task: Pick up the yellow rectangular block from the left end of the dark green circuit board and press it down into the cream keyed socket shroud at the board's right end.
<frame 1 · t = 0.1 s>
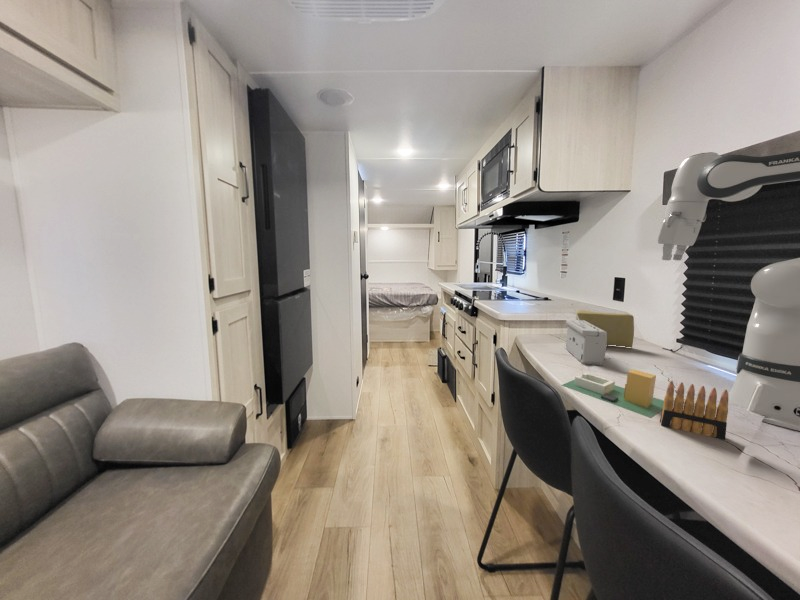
hand: (671, 260, 94), 39 cm above the worktop, tool pointing down, fingers open, 8 cm apart
olive rectangular block: (601, 345, 140), on the worktop
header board: (612, 397, 87), on the worktop
ammunition clip: (689, 436, 69), on the worktop
yellow rectangular block: (638, 402, 82), point 1 cm above the worktop, touching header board
stereo radio cassette player: (581, 357, 122), on the worktop
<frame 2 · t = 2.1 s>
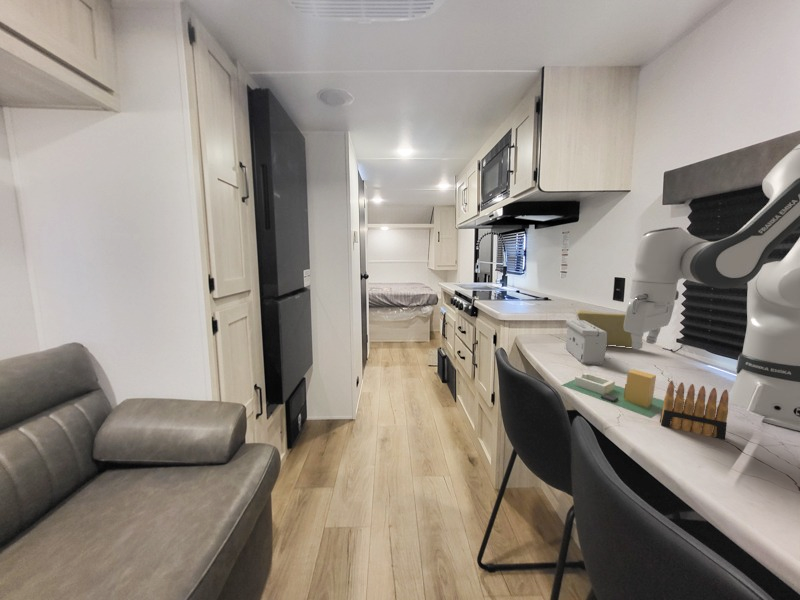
hand: (644, 345, 80), 17 cm above the worktop, tool pointing down, fingers open, 8 cm apart
nothing on the worktop moved.
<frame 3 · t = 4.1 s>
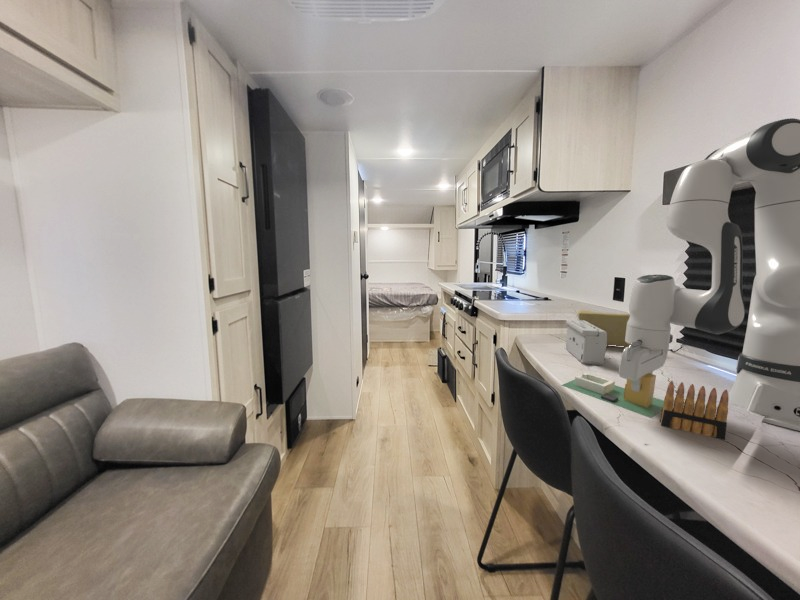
hand: (639, 388, 81), 5 cm above the worktop, tool pointing down, fingers closed on yellow rectangular block, 3 cm apart
yellow rectangular block: (638, 402, 82), point 1 cm above the worktop, touching gripper, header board
everything else where it was.
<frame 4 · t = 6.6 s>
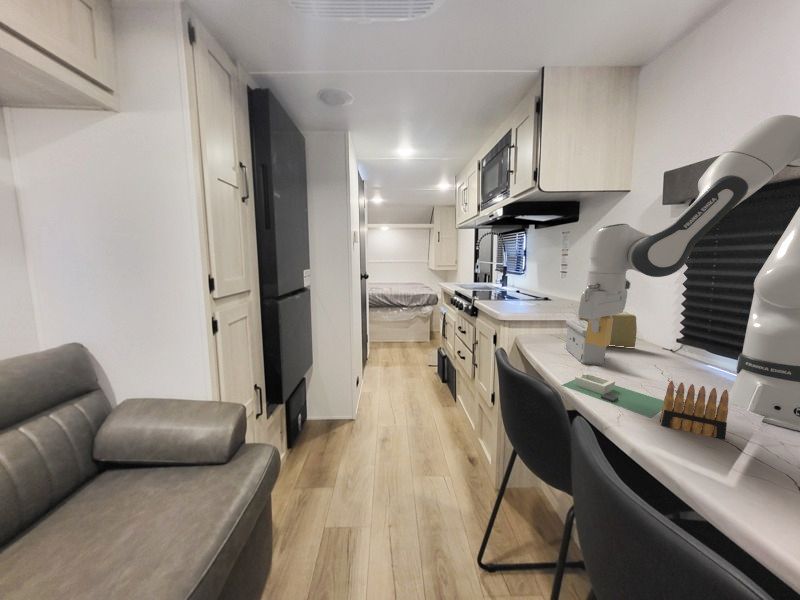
hand: (599, 330, 88), 18 cm above the worktop, tool pointing down, fingers closed on yellow rectangular block, 3 cm apart
yellow rectangular block: (597, 343, 89), point 14 cm above the worktop, touching gripper
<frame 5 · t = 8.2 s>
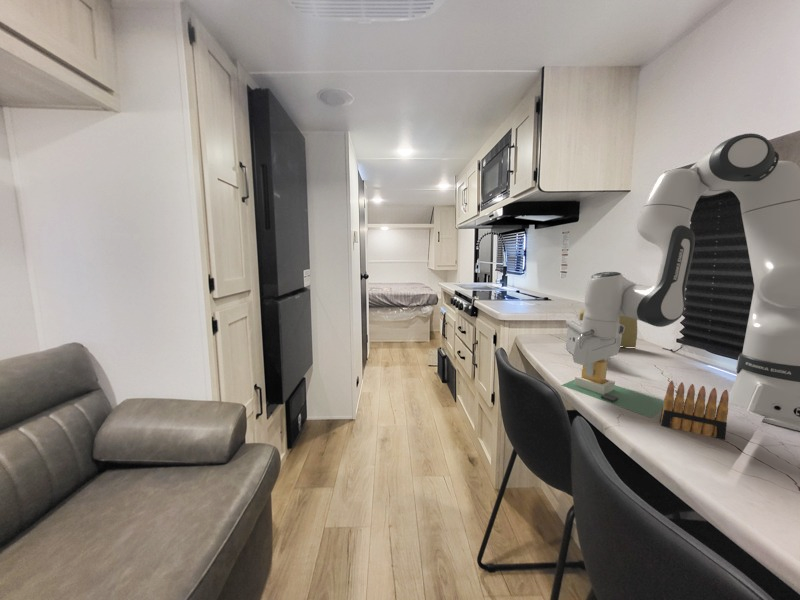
hand: (594, 373, 91), 5 cm above the worktop, tool pointing down, fingers closed on yellow rectangular block, 3 cm apart
yellow rectangular block: (592, 385, 91), point 1 cm above the worktop, touching gripper
when the fingers open (5 cm above the worktop, at t = 9.4 s): yellow rectangular block stays where it is, resting on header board.
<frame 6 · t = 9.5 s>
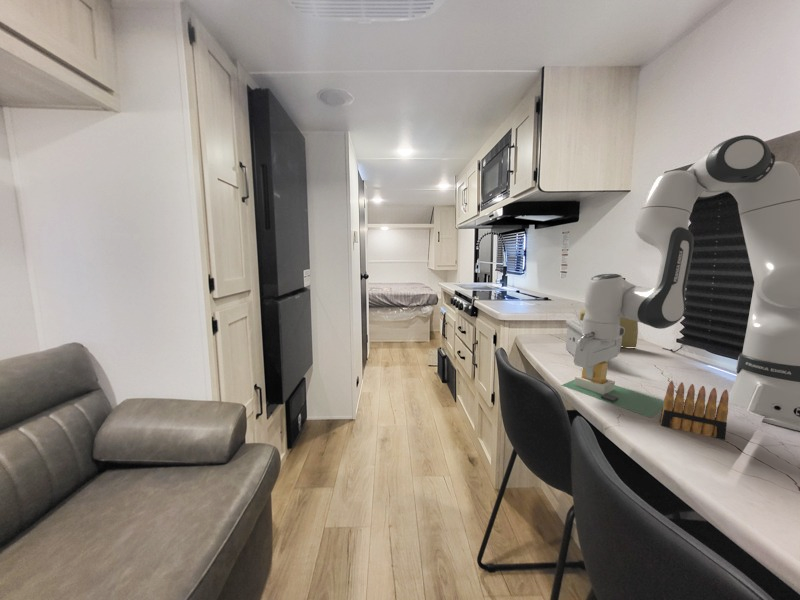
hand: (595, 375, 90), 5 cm above the worktop, tool pointing down, fingers open, 5 cm apart
yellow rectangular block: (592, 386, 91), point 1 cm above the worktop, touching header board
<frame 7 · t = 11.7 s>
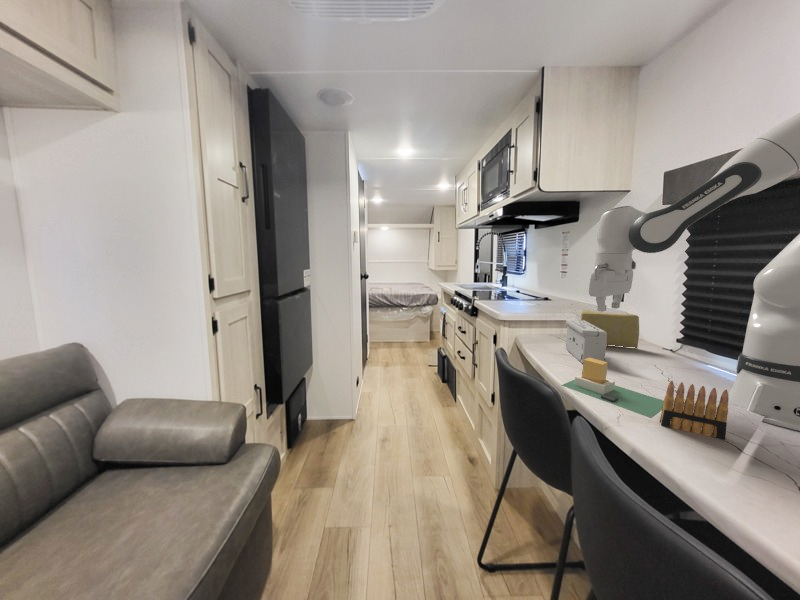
hand: (608, 309, 93), 24 cm above the worktop, tool pointing down, fingers open, 8 cm apart
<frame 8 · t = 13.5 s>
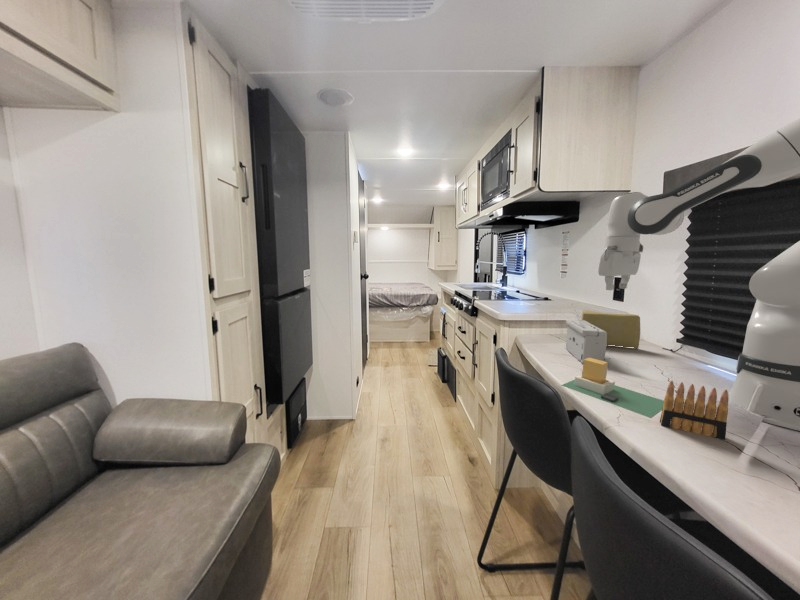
hand: (616, 289, 100), 29 cm above the worktop, tool pointing down, fingers open, 8 cm apart
at the end: yellow rectangular block 0.3 cm from the target spot on the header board, point 1.2 cm above the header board's base; yellow rectangular block tilted 0°; the gripper is holding nothing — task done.
